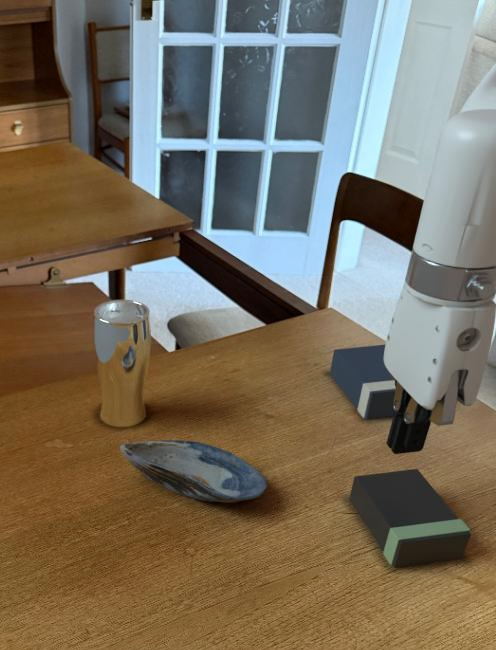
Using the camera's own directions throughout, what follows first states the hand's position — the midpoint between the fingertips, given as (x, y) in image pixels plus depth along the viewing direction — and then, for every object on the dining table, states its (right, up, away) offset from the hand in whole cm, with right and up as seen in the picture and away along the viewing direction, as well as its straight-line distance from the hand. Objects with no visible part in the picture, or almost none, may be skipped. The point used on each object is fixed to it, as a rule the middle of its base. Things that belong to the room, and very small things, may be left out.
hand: (403, 448), depth 76 cm
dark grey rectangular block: (0, -4, +6) cm, 7 cm away
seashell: (-21, -5, +9) cm, 23 cm away
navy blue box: (+4, +14, +27) cm, 31 cm away
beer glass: (-28, +5, +21) cm, 36 cm away
